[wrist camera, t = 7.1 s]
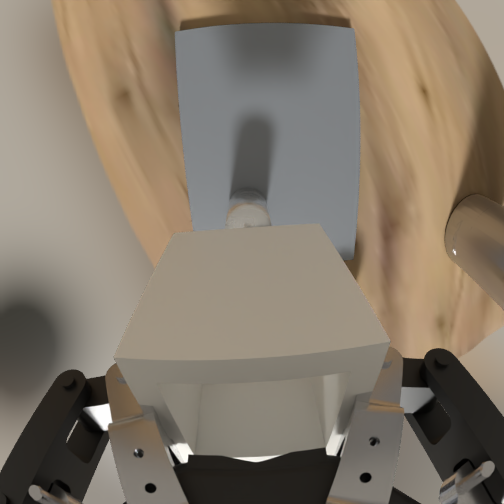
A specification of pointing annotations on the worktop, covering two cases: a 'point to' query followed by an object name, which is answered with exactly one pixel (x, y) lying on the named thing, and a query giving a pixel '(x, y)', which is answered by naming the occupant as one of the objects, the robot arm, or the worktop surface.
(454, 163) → the worktop surface
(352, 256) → the duct base
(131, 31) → the worktop surface
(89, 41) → the worktop surface
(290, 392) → the duct collar
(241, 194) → the silver metal capsule
